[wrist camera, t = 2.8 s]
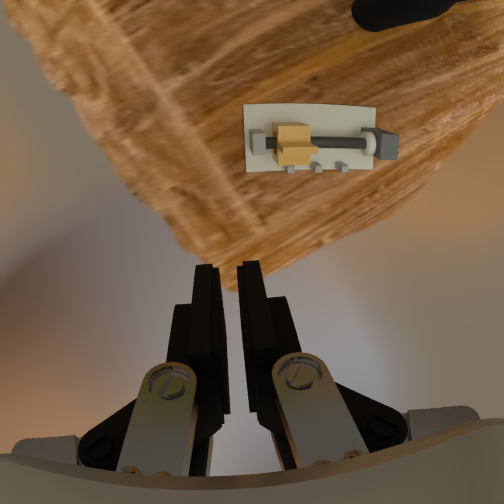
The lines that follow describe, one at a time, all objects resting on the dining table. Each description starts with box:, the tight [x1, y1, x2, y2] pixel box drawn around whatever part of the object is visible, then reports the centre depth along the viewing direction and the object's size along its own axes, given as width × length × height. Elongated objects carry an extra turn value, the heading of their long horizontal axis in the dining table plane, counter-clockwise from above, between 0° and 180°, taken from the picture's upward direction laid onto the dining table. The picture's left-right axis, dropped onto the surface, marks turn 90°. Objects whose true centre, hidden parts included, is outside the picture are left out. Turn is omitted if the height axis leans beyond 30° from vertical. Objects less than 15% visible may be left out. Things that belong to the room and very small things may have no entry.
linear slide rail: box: [243, 103, 399, 173], centre depth 40 cm, size 20×10×8 cm, turn 92°
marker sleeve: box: [272, 122, 318, 166], centre depth 37 cm, size 4×5×8 cm
